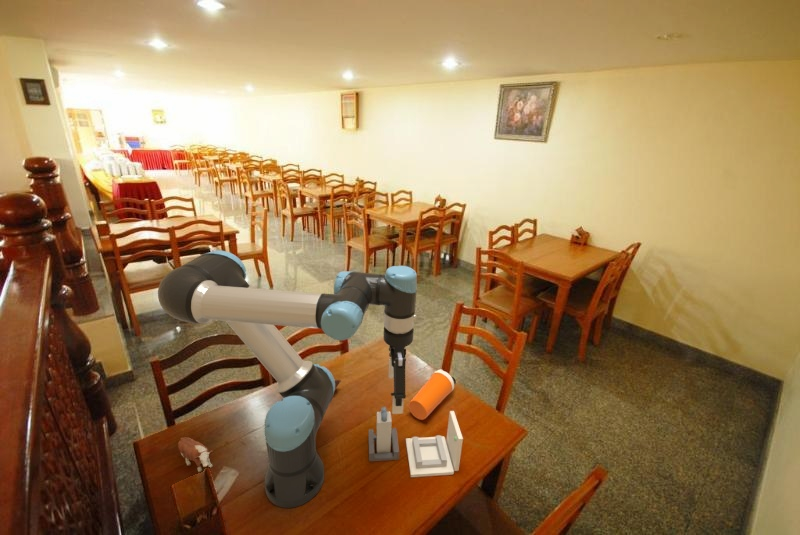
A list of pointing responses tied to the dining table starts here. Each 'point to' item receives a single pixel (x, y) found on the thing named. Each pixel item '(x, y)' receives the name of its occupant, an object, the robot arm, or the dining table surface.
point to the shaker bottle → (431, 394)
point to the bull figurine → (194, 452)
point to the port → (436, 452)
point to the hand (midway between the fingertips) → (395, 394)
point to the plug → (383, 431)
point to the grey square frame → (384, 455)
